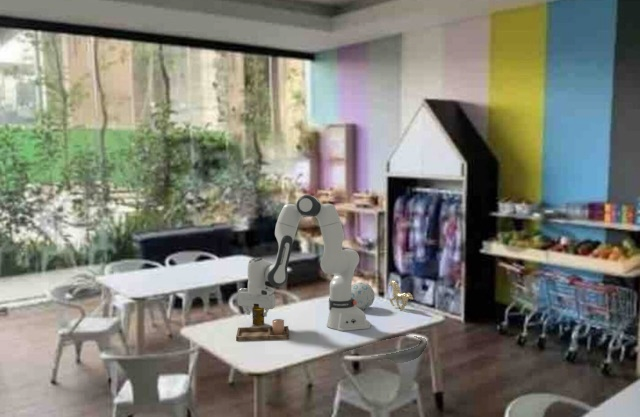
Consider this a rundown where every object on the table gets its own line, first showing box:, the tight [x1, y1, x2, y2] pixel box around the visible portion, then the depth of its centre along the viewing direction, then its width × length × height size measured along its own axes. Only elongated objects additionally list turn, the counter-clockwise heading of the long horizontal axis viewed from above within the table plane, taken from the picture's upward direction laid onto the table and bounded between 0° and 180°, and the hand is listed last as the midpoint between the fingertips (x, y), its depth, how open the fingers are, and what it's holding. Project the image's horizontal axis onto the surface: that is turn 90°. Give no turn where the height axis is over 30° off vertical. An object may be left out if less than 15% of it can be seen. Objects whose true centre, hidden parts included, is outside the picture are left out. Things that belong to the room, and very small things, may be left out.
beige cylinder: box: [271, 318, 285, 335], centre depth 280 cm, size 6×6×7 cm
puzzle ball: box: [351, 282, 375, 310], centre depth 325 cm, size 15×15×15 cm
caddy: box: [235, 325, 290, 342], centre depth 280 cm, size 25×14×2 cm, turn 94°
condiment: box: [251, 304, 265, 327], centre depth 297 cm, size 7×8×12 cm
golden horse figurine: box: [388, 277, 414, 311], centre depth 324 cm, size 20×4×17 cm, turn 35°
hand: (256, 315), depth 297 cm, fingers open, 8 cm apart
